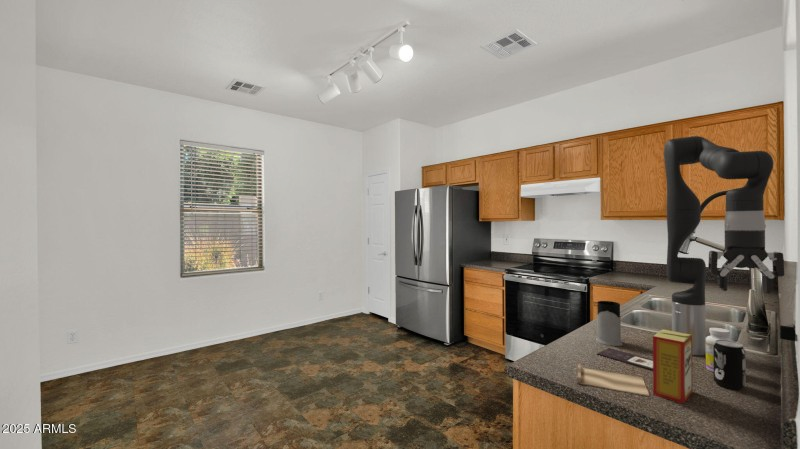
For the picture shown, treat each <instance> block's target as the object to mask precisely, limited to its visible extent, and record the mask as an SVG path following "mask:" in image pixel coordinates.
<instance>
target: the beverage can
mask: <svg viewBox="0 0 800 449" xmlns="http://www.w3.org/2000/svg"><path fill="white" fill-rule="evenodd" d="M715 342H716V343H715V344H714V346H713V358H714V372H713V381H714V382H715V383H716V385H718V386H719V387H722V388H725V389H729V390H733V391H735V390H736V391H741V390H743V389H745V388H746V385H747V384H746V382H747V380H746V378H747V377H746V376H747V375H746V370H747V369H746V368H747V367H746V350H745V348H744V344H742V343H741V342H737V341H734V340H733V341H729V340H716V341H715Z"/></svg>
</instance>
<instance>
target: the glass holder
mask: <svg viewBox="0 0 800 449" xmlns="http://www.w3.org/2000/svg"><path fill="white" fill-rule="evenodd" d="M596 306H597V313H596V333H597V334H596V339H595V341H596V342H597V343H599V344H601V343H602V344H601V345H605V344H606V345H605V346H611V345H612V347H618V346H622V345H623V343H622V339H621V338H622V337H621V336H622V335H621V334H622V332H621V331H622V330H621V328H622V327H621V324H622V322H621V321H622V320H621V318H622V317H621V316H622V315H621V304H620V303H619V302H617V301H610V300H598V301H597V305H596Z"/></svg>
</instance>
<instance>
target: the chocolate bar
mask: <svg viewBox="0 0 800 449" xmlns="http://www.w3.org/2000/svg"><path fill="white" fill-rule="evenodd" d="M599 355H600V356H599ZM597 356H599V357H602V356H603V358H606V357H607V358H606V359H609V358H610V359H609V360H612V359H613V361H617V362H619V361H620V363H624V364H626V365H627V364H628V365H630V366H633V367H637V368H641V369H644V370H648V371H651V372H653V358H652V359H651V358H649V357H644V356H640V355H636V354H633V353H629V352H626V351H622V350H617V349H614V348H610V347H608V348H606V349H603V350H601V351H599V352H597Z"/></svg>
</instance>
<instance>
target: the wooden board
mask: <svg viewBox="0 0 800 449" xmlns="http://www.w3.org/2000/svg"><path fill="white" fill-rule="evenodd" d="M577 384H578V385H583V386H589V387H593V388H594V387H595V388H599V389H605V390H611V391H617V392H622V393H629V394H634V395H641V396H645V397H650V393H649V389H648V388H647V386H646V383H645V381H644V378H643V377H641V376H636V375H629V374H623V373H617V372H611V371H610V372H609V371H604V370H598V369H594V368H593V369H592V368H585V367H582V365H581V362H577Z"/></svg>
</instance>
